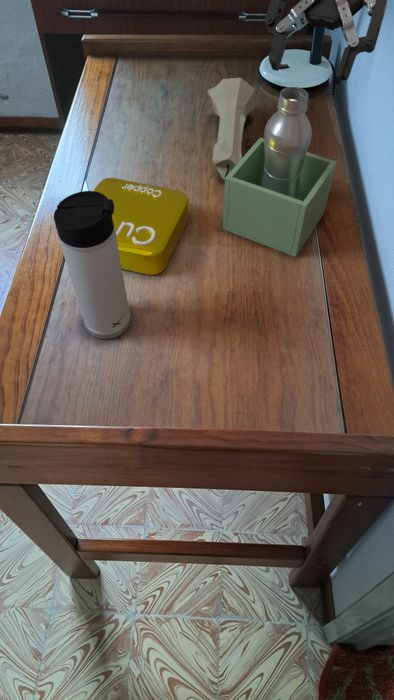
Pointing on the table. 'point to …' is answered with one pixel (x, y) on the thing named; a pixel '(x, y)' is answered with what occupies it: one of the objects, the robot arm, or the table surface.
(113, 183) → the element tile
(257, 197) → the caddy
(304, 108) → the silver metal bottle
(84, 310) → the travel mug
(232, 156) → the faceted club
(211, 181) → the table surface
